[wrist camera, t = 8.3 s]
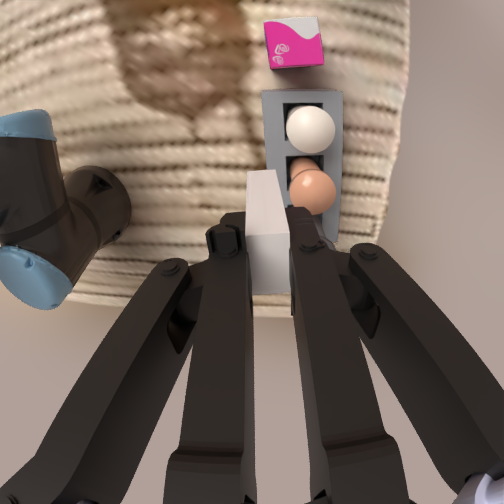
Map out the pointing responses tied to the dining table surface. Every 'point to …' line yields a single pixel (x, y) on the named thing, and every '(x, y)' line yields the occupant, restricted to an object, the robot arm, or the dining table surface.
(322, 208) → the terracotta plug
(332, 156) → the socket block
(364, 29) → the dining table surface
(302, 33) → the supplement box
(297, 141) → the cream plug
